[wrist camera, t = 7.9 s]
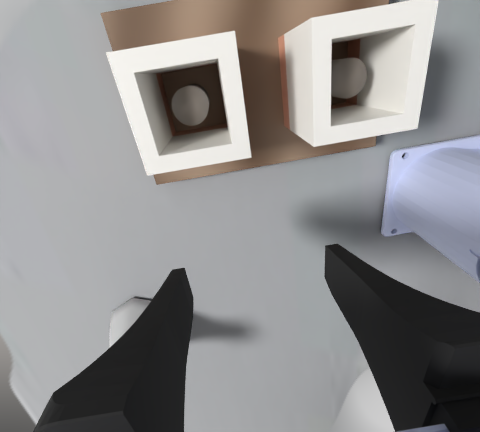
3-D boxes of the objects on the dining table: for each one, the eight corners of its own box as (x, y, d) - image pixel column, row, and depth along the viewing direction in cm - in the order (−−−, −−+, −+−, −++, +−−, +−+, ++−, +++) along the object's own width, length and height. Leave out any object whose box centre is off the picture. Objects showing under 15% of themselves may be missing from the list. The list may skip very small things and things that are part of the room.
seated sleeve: (362, 23, 15) (439, -5, 10) (357, 113, 18) (417, 128, 12) (277, 37, 15) (311, 17, 10) (284, 126, 18) (313, 147, 12)
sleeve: (227, 46, 15) (234, 30, 10) (240, 133, 18) (251, 157, 12) (143, 60, 15) (105, 52, 10) (167, 146, 18) (147, 175, 12)
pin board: (377, -29, 16) (451, -76, 11) (365, 141, 20) (412, 161, 15) (110, 18, 15) (62, -8, 11) (160, 177, 20) (143, 209, 15)
